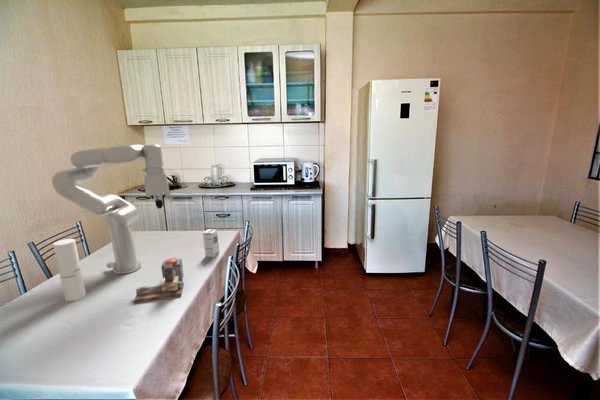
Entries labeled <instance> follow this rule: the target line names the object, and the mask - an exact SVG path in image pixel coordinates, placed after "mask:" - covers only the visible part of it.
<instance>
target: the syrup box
mask: <svg viewBox="0 0 600 400" xmlns="http://www.w3.org/2000/svg"><path fill="white" fill-rule="evenodd" d="M202 238H203V245H204V254H205V255H204V256H205V257H206V258H207V257H208V258H215V257H216V256H218V255H219V254H220V248H219V247H220V246H219V237H218V230H217V229H214V228H213V229H211V228H210V229H209V228H208V229H206V230H204V231H203V232H202Z"/></svg>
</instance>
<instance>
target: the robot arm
mask: <svg viewBox="0 0 600 400" xmlns="http://www.w3.org/2000/svg"><path fill="white" fill-rule="evenodd" d="M143 160H144V164H145V168H143V169H142V172H144V173H145V174H144V192H145V197H147V198H151V199H152V200H154V202H155V207H156V208H157V209H158V210H159V209H162V208H163V207H164V201H163V200H164V199H165V197H168V196H171V192H170V185H169V180H168V177H167V173H166V172H165V170H164V162H163V154H162V147H161V146H160V145H159V144H141V143H140V144H139V143H137V144H126V145H119V146H111V147H105V146H103V147H99V148H97V147H95V148H91V149H82V150H81V149H80V150H77V151H74V152H73V153H72V154H71V156H70V162H71V164H72V166H74V167H73V168H66V169H63V170H60V171H58V172H56V173H55V174H54V175H52V179H51V183H52V187H53V188H54V190H55V192H56V194H58V195H60V197H62V198H64V199H65V200H68V201H70V202H72V203H73V204H75V205H77V206H78V207H80V208H82V209H83V210H85V211H87V212H88V213H90V214H91V215H94V216H95V217H103V216H106V218H105V224H106V228H107V229H108V232H109V234H110V235H109V236H110V241H111V246H112V251H113V256H114V261H112V262H106V267H107V269H111V268H112V272H113V273H114V274H116V275H124V274H129V273H130V274H131V273H133V272H136V271H137V270H139V269H140V268H141V267H142V264H141V262H139V261H138V257H137V251H136V246H135V245H136V244H135V239H134V234H133V231H132V229H131V227H130V225H131V224H133V223H134V222H136V221H137V220H138V218H139V217H140V212H139V210H138V208H136V206H134V205H133V204H132V203H129V202H128V201H126V200H125V199H123V198H121V197H119V196H118V195H116V194H113V193H106V194H103V195H98V194H96V193H94V192H93V191H91V190H90V189H88V188H85V187H84V188H83V187H81V186H80V185H85V184H88V183H89V182H90V181H91V180H93V178H94V176H95V175H96V173H97V172H98V170H99V169H100V168H101V167H107V166H112V165H116V164H125V163H132V162H133V163H134V162H137V161H139V162H140V161H143ZM158 195H159V197H158Z"/></svg>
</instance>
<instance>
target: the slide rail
mask: <svg viewBox="0 0 600 400" xmlns="http://www.w3.org/2000/svg"><path fill="white" fill-rule="evenodd" d="M184 283H185V282H184V281H180V282H178V283H177V286H178V290H175V291H168V292H162V286H161V284H162V283H159V284H153V285H145V286H138V287H136V288H135V292H136V295H135V297H134V300H133V302H134V304H138V303H145V302H150V301H157V300H166V299H172V298H178V297H182V293H183V289H184V285H185V284H184Z"/></svg>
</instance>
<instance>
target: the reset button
mask: <svg viewBox="0 0 600 400" xmlns="http://www.w3.org/2000/svg"><path fill="white" fill-rule="evenodd" d="M177 259H178V258H177V257H170V258H168V259H166V260H164V261H165V263H166V264H176V263H177V262H178V260H177Z"/></svg>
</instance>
